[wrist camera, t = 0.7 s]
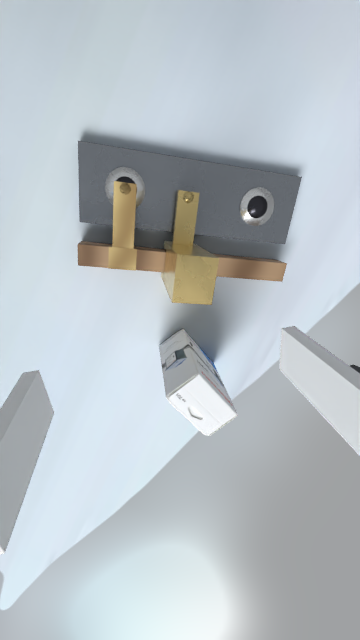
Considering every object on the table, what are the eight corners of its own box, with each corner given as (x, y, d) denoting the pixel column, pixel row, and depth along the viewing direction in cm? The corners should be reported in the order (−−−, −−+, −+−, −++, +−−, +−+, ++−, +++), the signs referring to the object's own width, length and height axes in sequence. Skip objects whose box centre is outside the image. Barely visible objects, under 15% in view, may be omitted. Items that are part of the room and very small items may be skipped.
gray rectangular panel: (81, 221, 32) (79, 221, 31) (80, 143, 30) (77, 140, 28) (280, 242, 37) (285, 244, 36) (296, 177, 35) (302, 176, 33)
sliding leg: (161, 276, 36) (171, 302, 26) (168, 190, 32) (184, 183, 23) (190, 278, 37) (211, 304, 27) (201, 194, 33) (230, 189, 23)
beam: (82, 261, 34) (78, 265, 32) (80, 178, 31) (76, 175, 28) (272, 276, 39) (282, 281, 37) (289, 206, 36) (301, 206, 33)
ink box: (214, 364, 43) (241, 415, 33) (189, 382, 44) (208, 439, 33) (182, 326, 40) (200, 371, 29) (155, 347, 41) (164, 398, 30)
